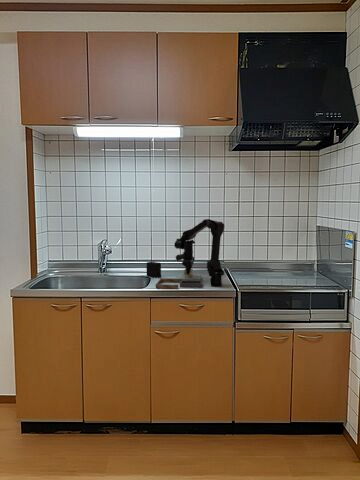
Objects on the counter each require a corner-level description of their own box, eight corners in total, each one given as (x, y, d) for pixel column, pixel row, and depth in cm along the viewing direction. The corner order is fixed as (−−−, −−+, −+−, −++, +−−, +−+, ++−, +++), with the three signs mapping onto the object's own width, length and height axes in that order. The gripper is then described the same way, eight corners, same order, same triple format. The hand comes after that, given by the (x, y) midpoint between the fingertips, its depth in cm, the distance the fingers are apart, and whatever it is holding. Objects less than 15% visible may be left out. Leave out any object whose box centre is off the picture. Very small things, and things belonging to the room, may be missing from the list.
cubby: (181, 282, 260) (181, 278, 260) (177, 289, 243) (177, 285, 243) (160, 282, 262) (160, 278, 262) (155, 288, 245) (155, 284, 244)
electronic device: (156, 278, 274) (156, 263, 273) (146, 276, 281) (146, 262, 279) (161, 277, 277) (161, 262, 276) (150, 275, 284) (150, 261, 283)
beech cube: (192, 276, 270) (192, 268, 269) (191, 277, 265) (191, 270, 264) (185, 276, 270) (185, 268, 270) (184, 277, 265) (184, 270, 265)
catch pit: (202, 284, 254) (202, 280, 254) (201, 287, 246) (201, 283, 245) (181, 284, 256) (181, 280, 255) (179, 287, 247) (179, 283, 247)
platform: (201, 278, 273) (201, 275, 272) (199, 282, 261) (199, 279, 261) (177, 277, 275) (177, 274, 275) (175, 281, 263) (175, 278, 263)
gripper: (178, 247, 276) (178, 270, 278) (174, 251, 257) (174, 276, 259) (194, 248, 274) (194, 270, 276) (191, 252, 256) (191, 276, 258)
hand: (188, 273), depth 267 cm, fingers open, 6 cm apart
